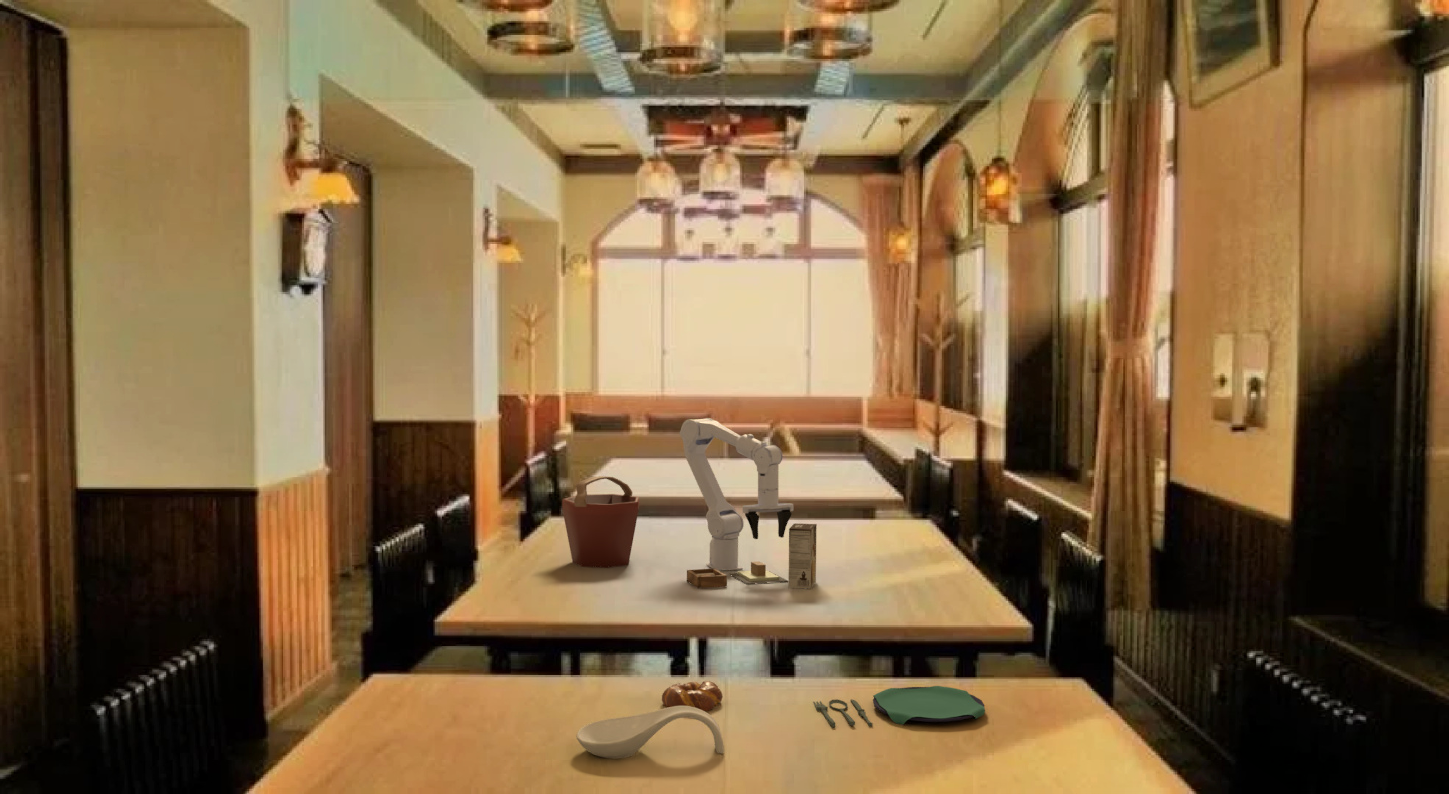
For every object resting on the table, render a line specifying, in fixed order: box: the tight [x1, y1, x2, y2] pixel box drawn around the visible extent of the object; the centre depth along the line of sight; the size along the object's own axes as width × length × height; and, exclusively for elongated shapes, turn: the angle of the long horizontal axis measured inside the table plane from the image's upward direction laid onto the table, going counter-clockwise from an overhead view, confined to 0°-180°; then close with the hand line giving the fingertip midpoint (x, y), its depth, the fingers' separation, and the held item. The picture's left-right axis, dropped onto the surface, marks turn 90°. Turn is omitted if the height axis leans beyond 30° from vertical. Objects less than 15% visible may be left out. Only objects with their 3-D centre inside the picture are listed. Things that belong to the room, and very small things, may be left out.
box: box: [686, 568, 728, 589], centre depth 328 cm, size 10×8×3 cm
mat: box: [728, 570, 789, 585], centre depth 336 cm, size 14×12×1 cm
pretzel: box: [661, 680, 723, 712], centre depth 223 cm, size 12×11×4 cm
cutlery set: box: [812, 685, 986, 728], centre depth 219 cm, size 20×30×2 cm, turn 97°
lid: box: [736, 561, 779, 582], centre depth 336 cm, size 10×8×4 cm
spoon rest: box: [576, 706, 725, 759], centre depth 197 cm, size 24×12×7 cm, turn 96°
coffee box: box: [788, 523, 817, 590], centre depth 327 cm, size 9×6×16 cm
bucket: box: [561, 475, 640, 569], centre depth 356 cm, size 24×22×25 cm
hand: (768, 537), depth 340 cm, fingers open, 7 cm apart
